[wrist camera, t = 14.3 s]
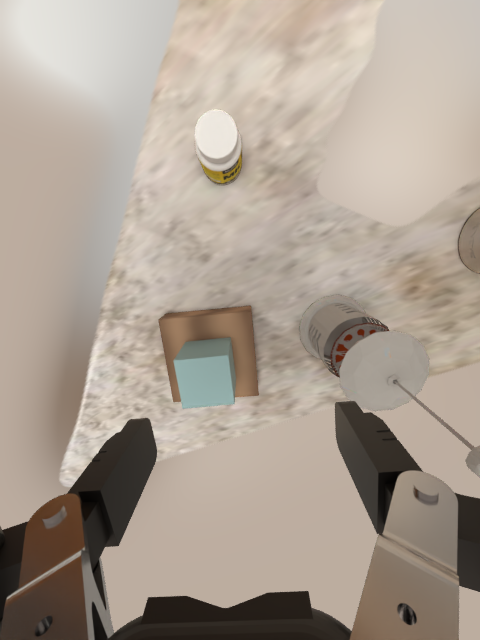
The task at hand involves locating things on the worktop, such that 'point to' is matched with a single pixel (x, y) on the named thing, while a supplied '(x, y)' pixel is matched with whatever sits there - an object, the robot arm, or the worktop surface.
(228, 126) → the supplement bottle
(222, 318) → the walnut block
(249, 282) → the worktop surface
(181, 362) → the teal cube
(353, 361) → the french press
